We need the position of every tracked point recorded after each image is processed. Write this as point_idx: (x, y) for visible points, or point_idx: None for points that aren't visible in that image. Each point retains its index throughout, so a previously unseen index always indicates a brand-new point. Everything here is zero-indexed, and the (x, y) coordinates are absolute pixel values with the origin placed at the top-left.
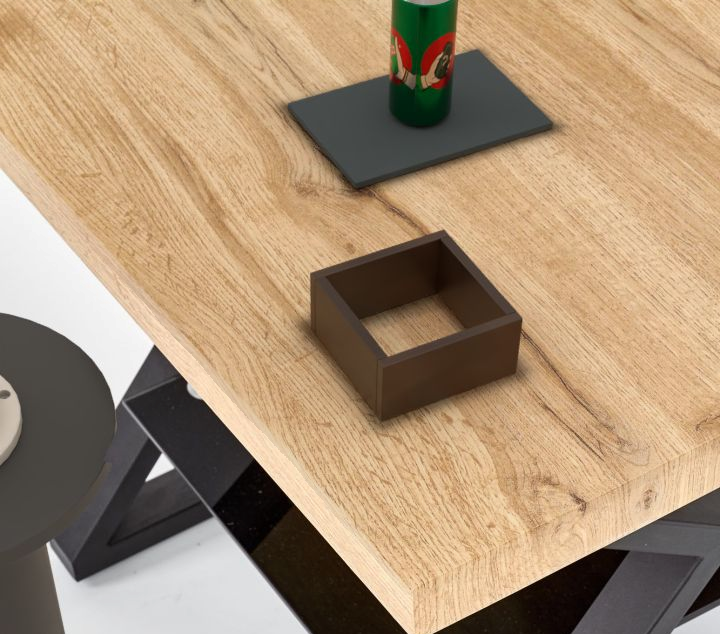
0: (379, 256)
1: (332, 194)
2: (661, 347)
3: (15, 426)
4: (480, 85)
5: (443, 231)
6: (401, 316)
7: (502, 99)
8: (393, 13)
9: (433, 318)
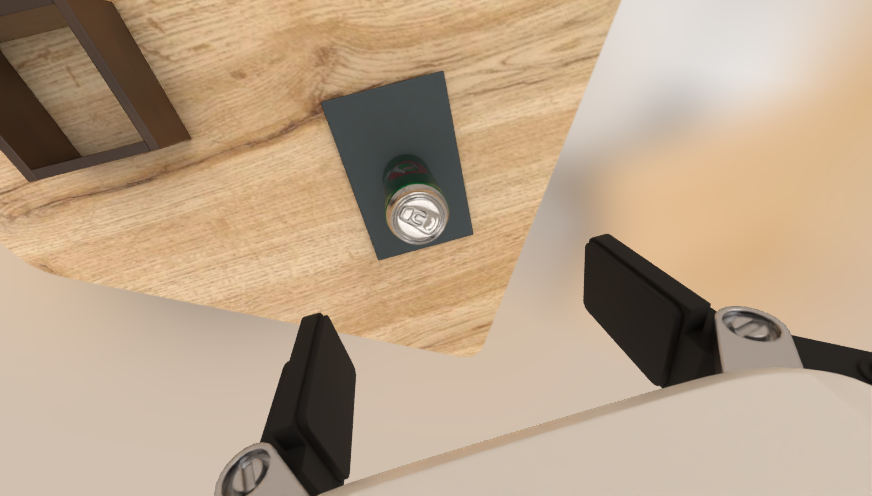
0: (102, 74)
1: (317, 79)
2: (131, 265)
3: None
4: None
5: (155, 146)
6: None
7: None
8: (412, 177)
9: None
